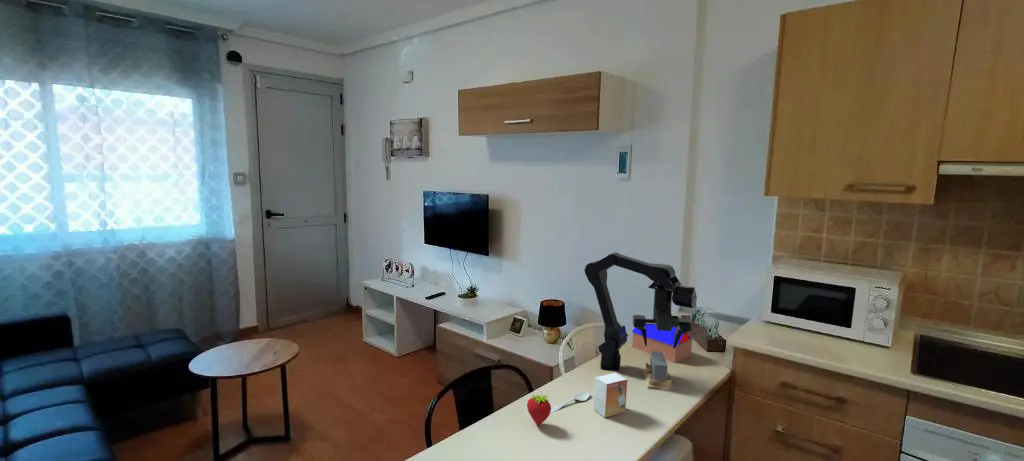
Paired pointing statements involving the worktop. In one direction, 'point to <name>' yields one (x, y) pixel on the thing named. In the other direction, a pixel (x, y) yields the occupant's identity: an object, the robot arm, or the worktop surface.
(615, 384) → the small box
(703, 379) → the worktop surface
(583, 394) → the spoon
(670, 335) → the house
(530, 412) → the strawberry
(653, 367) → the grey rectangular block
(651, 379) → the display stand
